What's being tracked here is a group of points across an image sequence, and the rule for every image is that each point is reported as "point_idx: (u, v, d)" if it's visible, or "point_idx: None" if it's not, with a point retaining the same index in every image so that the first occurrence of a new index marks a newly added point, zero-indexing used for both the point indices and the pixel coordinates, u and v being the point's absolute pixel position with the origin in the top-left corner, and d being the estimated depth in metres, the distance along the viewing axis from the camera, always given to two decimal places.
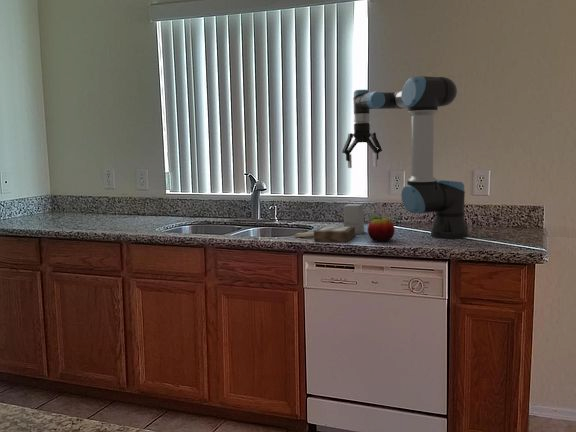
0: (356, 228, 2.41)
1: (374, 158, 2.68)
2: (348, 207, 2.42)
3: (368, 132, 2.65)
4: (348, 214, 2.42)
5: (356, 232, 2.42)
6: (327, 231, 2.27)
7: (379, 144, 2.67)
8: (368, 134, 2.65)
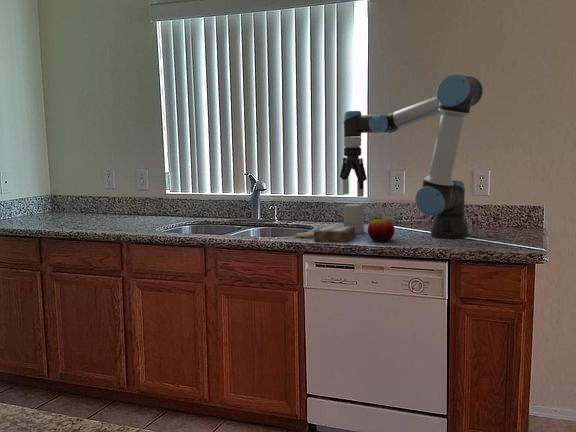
0: (356, 228, 2.41)
1: None
2: (348, 207, 2.42)
3: (353, 157, 2.38)
4: (348, 214, 2.42)
5: (356, 232, 2.42)
6: (327, 231, 2.27)
7: (359, 172, 2.34)
8: (353, 160, 2.39)
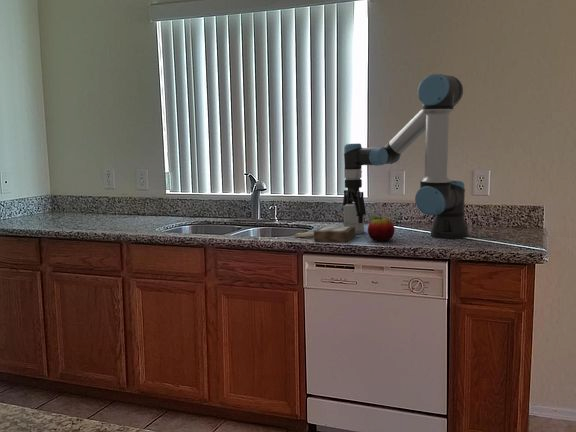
0: (356, 228, 2.41)
1: None
2: (348, 207, 2.42)
3: (354, 190, 2.40)
4: (348, 214, 2.42)
5: (356, 232, 2.42)
6: (327, 231, 2.27)
7: (359, 206, 2.37)
8: (354, 192, 2.40)
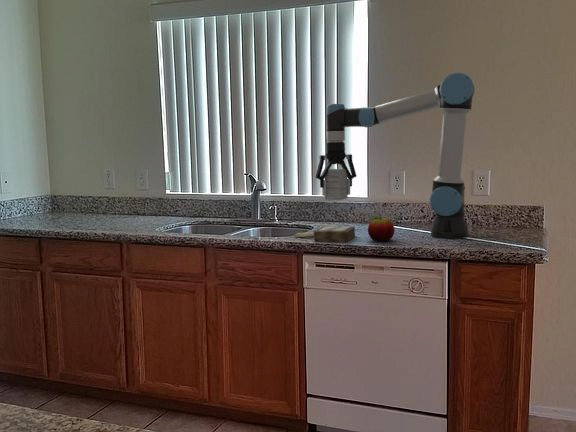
0: (346, 192, 2.32)
1: (347, 185, 2.33)
2: (342, 171, 2.28)
3: (343, 152, 2.30)
4: (342, 178, 2.29)
5: (346, 197, 2.32)
6: (327, 231, 2.27)
7: None
8: (343, 155, 2.30)
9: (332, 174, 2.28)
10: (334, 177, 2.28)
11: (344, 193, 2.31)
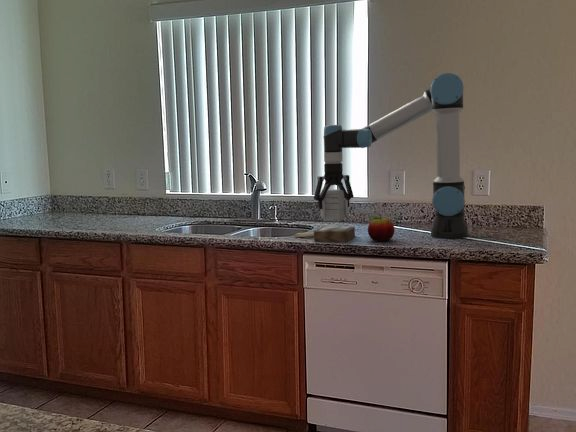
0: (344, 213, 2.32)
1: None
2: (340, 192, 2.27)
3: (341, 173, 2.29)
4: (341, 199, 2.28)
5: (344, 217, 2.32)
6: (327, 231, 2.27)
7: (351, 189, 2.31)
8: (341, 176, 2.29)
9: (331, 195, 2.27)
10: (333, 198, 2.27)
11: (342, 213, 2.30)
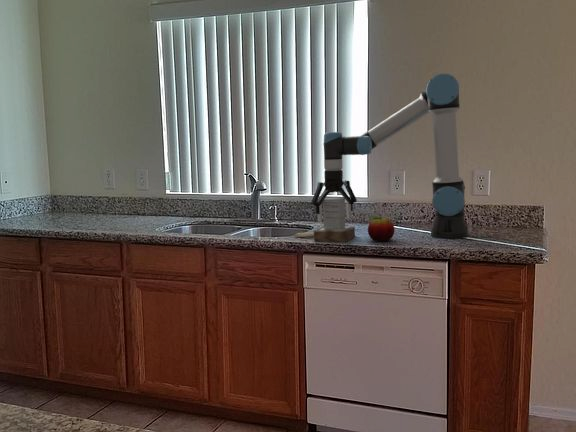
0: (344, 222, 2.32)
1: (348, 209, 2.33)
2: (341, 201, 2.28)
3: (341, 180, 2.29)
4: (341, 208, 2.28)
5: (344, 226, 2.32)
6: (327, 231, 2.27)
7: (353, 194, 2.32)
8: (341, 183, 2.29)
9: (331, 203, 2.27)
10: (333, 207, 2.27)
11: (343, 222, 2.30)
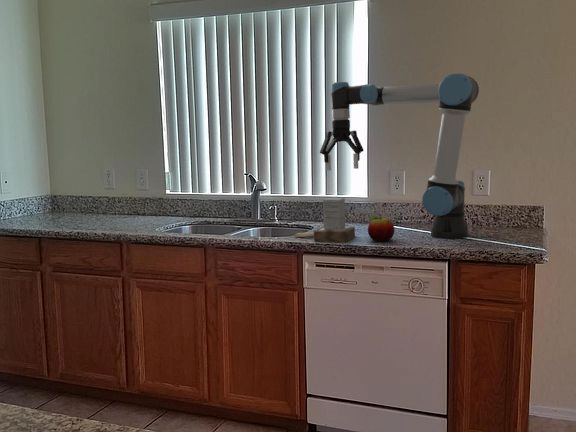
0: (344, 222, 2.32)
1: (355, 159, 2.39)
2: (341, 201, 2.28)
3: (348, 130, 2.36)
4: (341, 208, 2.28)
5: (344, 226, 2.32)
6: (327, 231, 2.27)
7: (360, 143, 2.39)
8: (348, 132, 2.36)
9: (331, 203, 2.27)
10: (333, 207, 2.27)
11: (343, 222, 2.30)
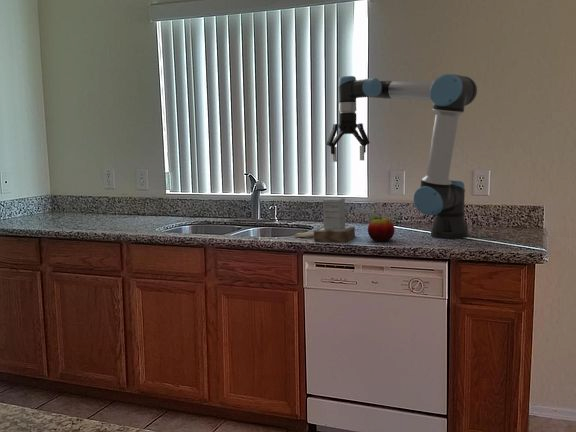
0: (344, 222, 2.32)
1: (361, 151, 2.47)
2: (341, 201, 2.28)
3: (355, 123, 2.43)
4: (341, 208, 2.28)
5: (344, 226, 2.32)
6: (327, 231, 2.27)
7: (366, 136, 2.46)
8: (355, 125, 2.43)
9: (331, 203, 2.27)
10: (333, 207, 2.27)
11: (343, 222, 2.30)
